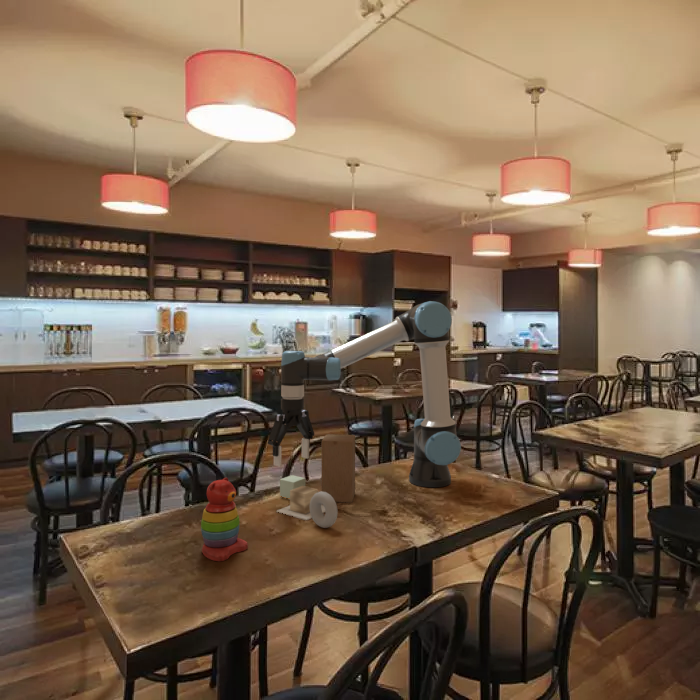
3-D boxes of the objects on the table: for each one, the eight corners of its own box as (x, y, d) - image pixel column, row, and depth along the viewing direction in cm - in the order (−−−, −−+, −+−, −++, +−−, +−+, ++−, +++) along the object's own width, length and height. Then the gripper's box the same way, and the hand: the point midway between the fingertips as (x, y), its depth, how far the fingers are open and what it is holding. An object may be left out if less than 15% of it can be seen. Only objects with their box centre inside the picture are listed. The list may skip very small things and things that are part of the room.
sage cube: (305, 495, 174) (305, 478, 174) (293, 500, 169) (293, 482, 169) (292, 492, 177) (292, 475, 177) (279, 497, 173) (279, 479, 172)
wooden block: (352, 503, 166) (352, 441, 166) (321, 502, 167) (321, 440, 167) (355, 493, 176) (355, 434, 176) (325, 492, 177) (325, 434, 177)
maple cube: (317, 508, 160) (317, 489, 160) (305, 514, 155) (304, 494, 155) (303, 504, 164) (303, 485, 164) (290, 509, 159) (290, 490, 159)
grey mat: (332, 509, 161) (332, 507, 161) (306, 520, 151) (306, 519, 151) (302, 501, 168) (302, 500, 168) (276, 512, 158) (276, 510, 158)
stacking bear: (220, 563, 124) (219, 489, 123) (190, 553, 129) (190, 482, 128) (251, 547, 133) (251, 478, 132) (223, 538, 138) (222, 472, 137)
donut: (340, 530, 144) (340, 494, 144) (331, 533, 142) (331, 497, 141) (315, 520, 151) (315, 486, 151) (306, 524, 149) (306, 489, 148)
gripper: (308, 393, 184) (307, 452, 185) (256, 400, 164) (256, 467, 165) (325, 395, 180) (324, 456, 181) (274, 402, 159) (273, 471, 160)
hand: (291, 461), depth 173 cm, fingers open, 13 cm apart
